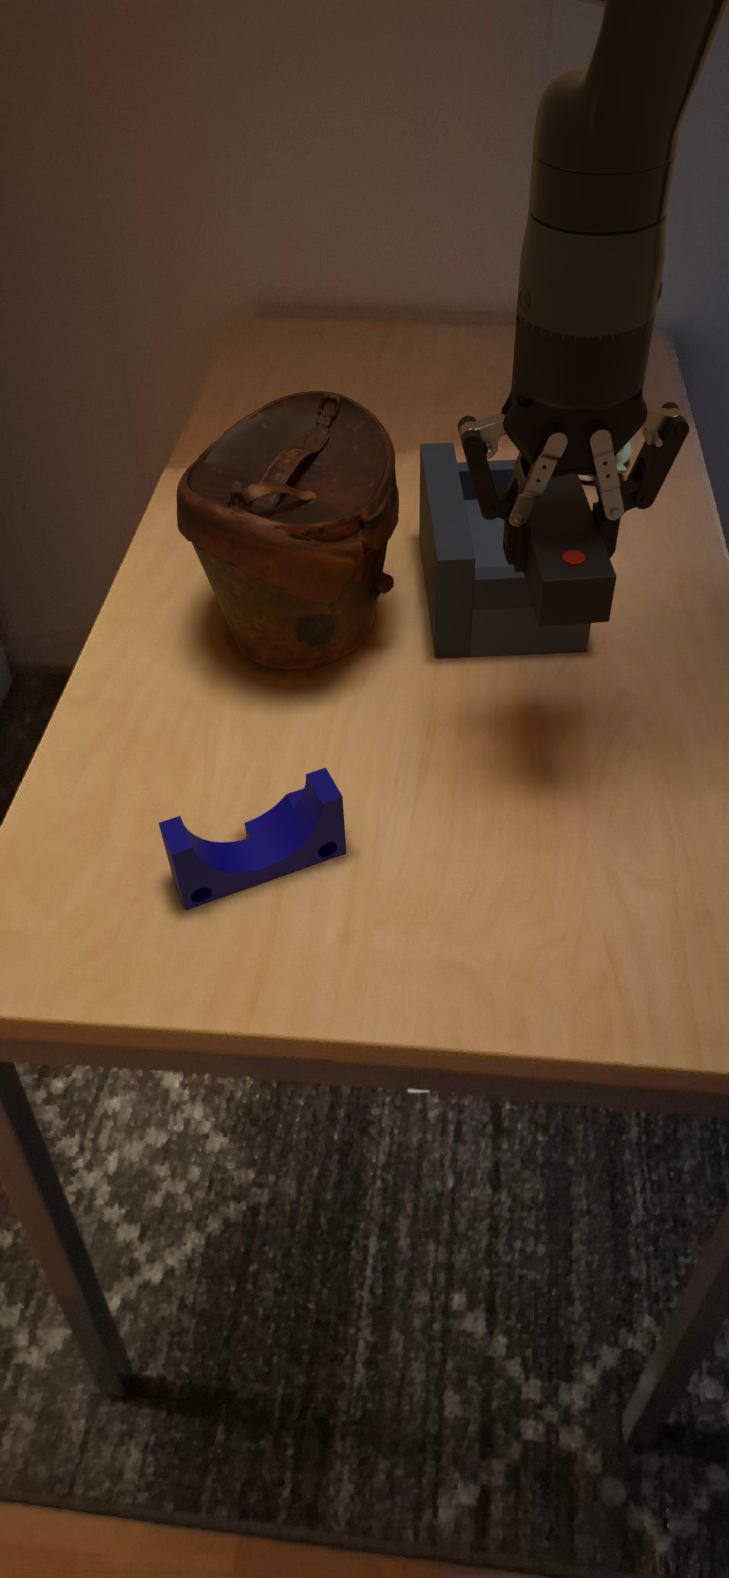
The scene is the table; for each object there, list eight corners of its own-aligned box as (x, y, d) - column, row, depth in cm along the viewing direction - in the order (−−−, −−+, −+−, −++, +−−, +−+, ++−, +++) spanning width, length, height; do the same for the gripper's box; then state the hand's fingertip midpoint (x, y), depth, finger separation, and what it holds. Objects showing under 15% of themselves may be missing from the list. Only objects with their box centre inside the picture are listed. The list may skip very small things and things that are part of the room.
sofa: (552, 532, 101) (564, 437, 94) (586, 651, 89) (602, 552, 82) (419, 538, 101) (420, 443, 94) (434, 658, 89) (437, 560, 82)
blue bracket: (322, 810, 77) (317, 753, 73) (346, 852, 75) (342, 796, 70) (167, 863, 74) (152, 807, 70) (185, 909, 72) (171, 854, 67)
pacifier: (563, 485, 107) (622, 491, 106) (568, 428, 102) (630, 434, 101) (574, 450, 112) (631, 455, 110) (580, 394, 107) (639, 398, 106)
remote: (572, 516, 74) (577, 469, 71) (609, 622, 66) (617, 573, 63) (508, 520, 74) (512, 473, 71) (538, 627, 65) (543, 578, 63)
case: (205, 717, 85) (168, 527, 72) (194, 573, 98) (161, 391, 85) (421, 689, 86) (424, 498, 73) (380, 552, 100) (377, 370, 87)
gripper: (698, 265, 59) (649, 524, 72) (448, 281, 59) (443, 538, 72) (738, 321, 54) (678, 589, 67) (464, 338, 54) (456, 604, 67)
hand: (556, 561), depth 69 cm, fingers closed on remote, 4 cm apart
